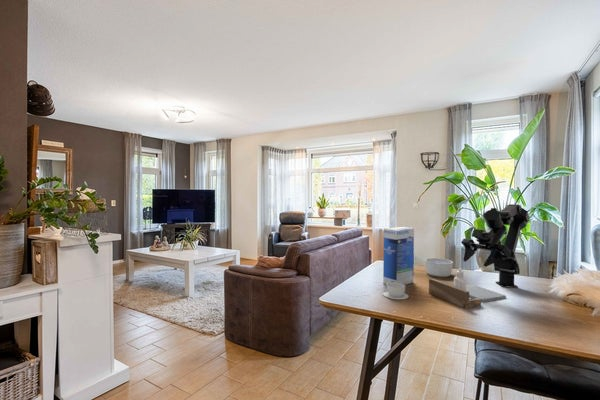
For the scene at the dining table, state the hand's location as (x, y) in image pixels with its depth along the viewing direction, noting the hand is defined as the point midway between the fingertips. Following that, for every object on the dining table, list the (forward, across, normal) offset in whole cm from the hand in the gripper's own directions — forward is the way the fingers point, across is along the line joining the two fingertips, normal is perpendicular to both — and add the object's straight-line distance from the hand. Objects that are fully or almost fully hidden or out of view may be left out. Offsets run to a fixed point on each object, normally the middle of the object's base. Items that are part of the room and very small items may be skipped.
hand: (474, 263), depth 121 cm
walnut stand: (+17, 0, +2) cm, 17 cm away
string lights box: (+22, -24, -3) cm, 33 cm away
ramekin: (+1, -30, +18) cm, 35 cm away
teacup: (+31, -11, -12) cm, 35 cm away
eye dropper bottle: (+15, 0, +4) cm, 16 cm away
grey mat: (+7, 0, +12) cm, 14 cm away
